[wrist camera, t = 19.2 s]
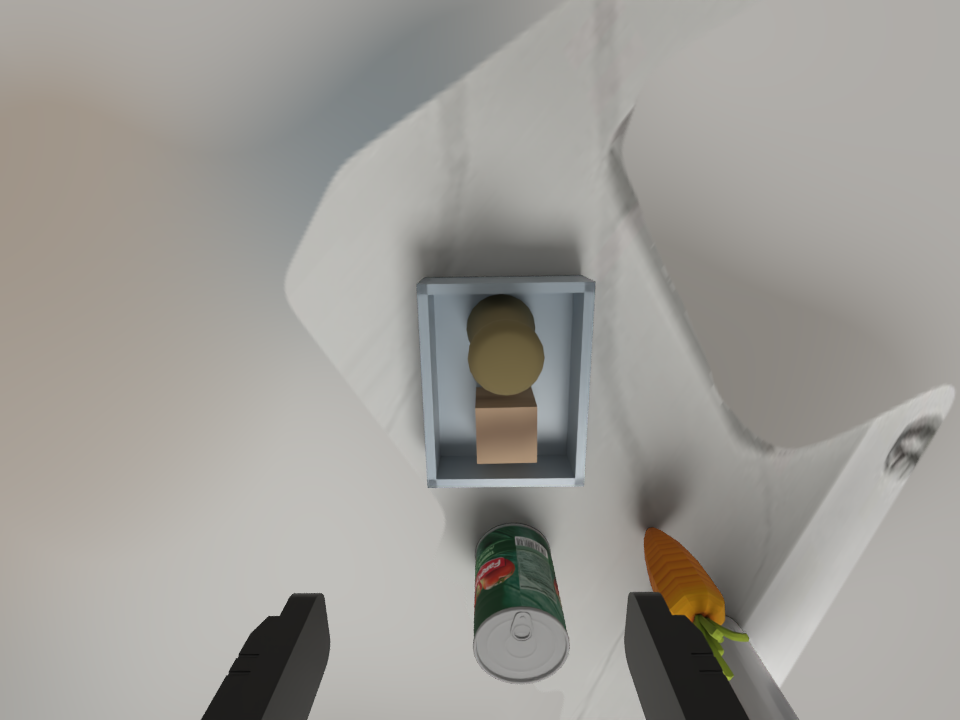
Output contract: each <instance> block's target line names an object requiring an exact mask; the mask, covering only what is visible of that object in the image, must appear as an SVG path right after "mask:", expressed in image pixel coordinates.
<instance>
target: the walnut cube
mask: <svg viewBox="0 0 960 720" xmlns="http://www.w3.org/2000/svg"><path fill="white" fill-rule="evenodd" d="M475 416H476V446H477V464H498V463H537V404H536V401H535V397H534V394H533V391H532V387H531V386H530V387H529V388H528V389H527V390H525V391H523V392H520V393H518V394H514V395H507V396H506V395H498V394H494V393H492V392H490V391H487V390H485V389H484V388H483V387H476V403H475Z"/></svg>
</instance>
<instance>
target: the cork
mask: <svg viewBox="0 0 960 720" xmlns="http://www.w3.org/2000/svg"><path fill="white" fill-rule="evenodd" d="M466 330H467V335H468V340H469V342H470V345H469V352H468V364H469V369H470V372H471V373H472V375H473V377H474V379H475V380H476V382H477V383H479V384H480V385H481V386H482V387H483V388H484V389H485V390H487V391H490V392H492V393H494V394H498V395H506V396H507V395H514V394H518V393H520V392H523V391H525V390H527V389H528V388H529V387H530V386H532V385H533V384H534V383H535V382H536V381H537V379H538V377H539V375H540V373H541V372H542V369H543V364H544V359H545V356H544V349H543V345H542V343H541V341H540V339H539V337H538V335H537V334H536V333H535V323H534V317H533V315H532V313H531V311H530V309H529V307H528V306H526V305H525V304H524V303H523V302H522V301H521V300H520V299H517V298H515V297H513V296H511V295H504V294H498V295H492V296H489V297H487V298H485V299H483V300H481V301H480V302H479V303H478V304H477V305H476V306H475V307H474V308H473V309H472V311H471V313H470V315H469V317H468V321H467V328H466Z"/></svg>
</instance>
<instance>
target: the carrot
mask: <svg viewBox="0 0 960 720" xmlns="http://www.w3.org/2000/svg"><path fill="white" fill-rule="evenodd" d="M644 553H645V561H646V566H647V571H648V575H649V579H650V583H651V586H652V589H653V592H659V593H661V594H662V596H663V598H664V600H665V602H666V604H667V606H668V608H669V610H670V612H671V614H672V615H685V616H686V617H687V618H688V619H689V620H690V621H691V622H692V623H693V624H694V625H695V626H696V627H697V628H698V629H699V630H700V631H701V632H702V633H703V635H704V636H705V638H706V640H707V642H708V644H709V646H710V648H711V649H712V651H713V654H714V657H716V659H717V660H718V662H719V664H720V666H721V668H722V670H723V674H724V675H726V677H727V679H728V680H729V681H730V680H731V679H732V677H733V676H734V674H733V672H732V671H731V669H730V668H729V666H728V665H727V663H726V662H725V660H724V659H723V657H722V655H723V654H724V649H723V648H722V646H721V645H720V643H722V642H723V641H724V638H723V636H725V637H727V638H729V639H731V640H733V641H739V642H748V641H749V637H748V635H747V634H746V633H739V632H734V631H732V630H729V629H727V628H725V627H723V626H721V625H722V624H723V623H724V621H725V602H724V598H723V596H722V594H721V593H720V591H719V590H718V588H717V587H716V585H715V584H714V582H713V581H712V580H711V578H710V577H709V575H708V574H707V573H706V571H705V570H704V569H703V567H702V566H701V565H700V563H699V562H698V561H697V560H696V559H695V558H694V557H693V556H692V555H691V554H690V552H689V551H688V550H686V549H685V548H684V547H683V546H682V545H681V544H680V543H679V542H678V541H676V540H675V539H673V538H672V537H670V536H669V535H667V534H666V533H664V532H663V531H661V530H659V529H657V528H654V527H651V528H648V529H647V530H646V533H645V537H644Z"/></svg>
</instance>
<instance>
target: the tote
mask: <svg viewBox="0 0 960 720" xmlns="http://www.w3.org/2000/svg"><path fill="white" fill-rule="evenodd" d="M498 294H504V295H511V296H513V297H515V298H517V299H520V300H521V301H522V302H523V303H524V304H525V305H526V306H528V307H529V309H530V311H531V313H532V315H533V317H534V323H535V333H536V334H537V335H538V337H539V339H540V341H541V343H542V345H543V349H544V356H545V359H544V364H543V369H542V372H541V373H540V375H539V377H538V379H537V381H536V382H535V383H534V384H533V385H532V386H531V387H532V391H533V394H534V397H535V401H536V404H537V463H498V464H477V446H476V416H475V403H476V387H482V386H481V385H480V384H479V383H477V382H476V380H475V379H474V377H473V375H472V373H471V372H470V369H469V364H468V352H469V345H470V342H469V340H468V335H467V330H466V328H467V321H468V317H469V315H470V313H471V311H472V309H473V308H474V307H475V306H476V305H477V304H478V303H479V302H480V301H481V300H483V299H485V298H487V297H489V296H492V295H498ZM594 300H595V281H593V280H591V279H589V278H587V277H584V276H582V275H563V276H496V277H429V278H424V279H422V280H421V281H420V282H419V283H418V284H417V302H418V320H419V339H420V357H421V375H422V394H423V412H424V430H425V449H426V467H427V485H428V488H454V487H558V486H584V479H585V461H586V443H587V425H588V407H589V389H590V371H591V353H592V335H593V318H594Z"/></svg>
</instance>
